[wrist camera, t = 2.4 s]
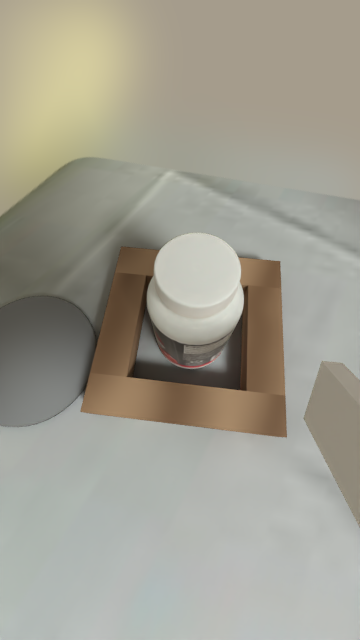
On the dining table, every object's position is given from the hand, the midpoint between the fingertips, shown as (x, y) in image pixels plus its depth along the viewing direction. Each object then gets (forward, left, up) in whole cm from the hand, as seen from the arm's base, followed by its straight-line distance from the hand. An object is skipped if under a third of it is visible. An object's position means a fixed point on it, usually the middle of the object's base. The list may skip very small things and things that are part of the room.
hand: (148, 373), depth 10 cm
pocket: (-2, -5, -9) cm, 10 cm away
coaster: (+10, -2, -9) cm, 14 cm away
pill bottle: (-2, -5, -9) cm, 11 cm away
